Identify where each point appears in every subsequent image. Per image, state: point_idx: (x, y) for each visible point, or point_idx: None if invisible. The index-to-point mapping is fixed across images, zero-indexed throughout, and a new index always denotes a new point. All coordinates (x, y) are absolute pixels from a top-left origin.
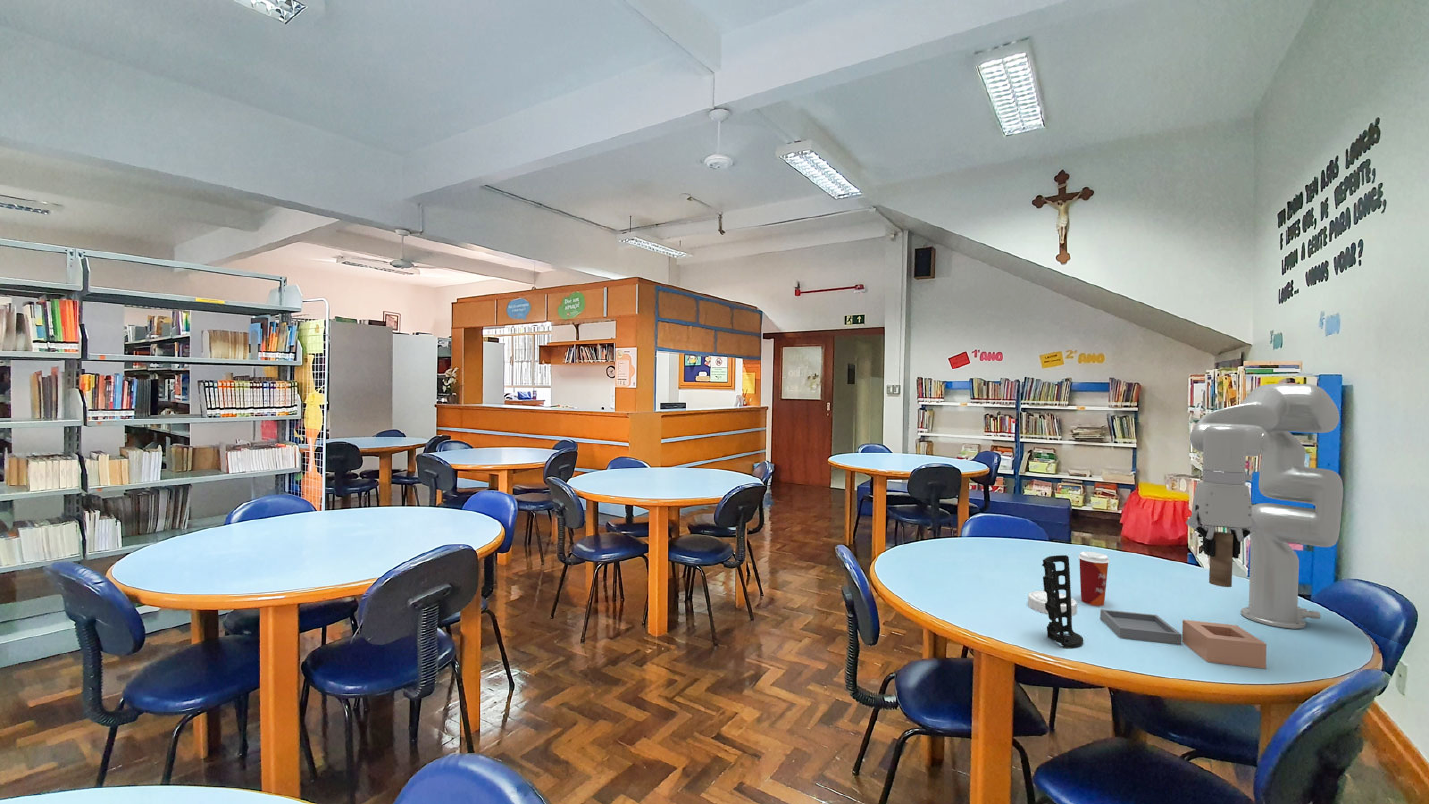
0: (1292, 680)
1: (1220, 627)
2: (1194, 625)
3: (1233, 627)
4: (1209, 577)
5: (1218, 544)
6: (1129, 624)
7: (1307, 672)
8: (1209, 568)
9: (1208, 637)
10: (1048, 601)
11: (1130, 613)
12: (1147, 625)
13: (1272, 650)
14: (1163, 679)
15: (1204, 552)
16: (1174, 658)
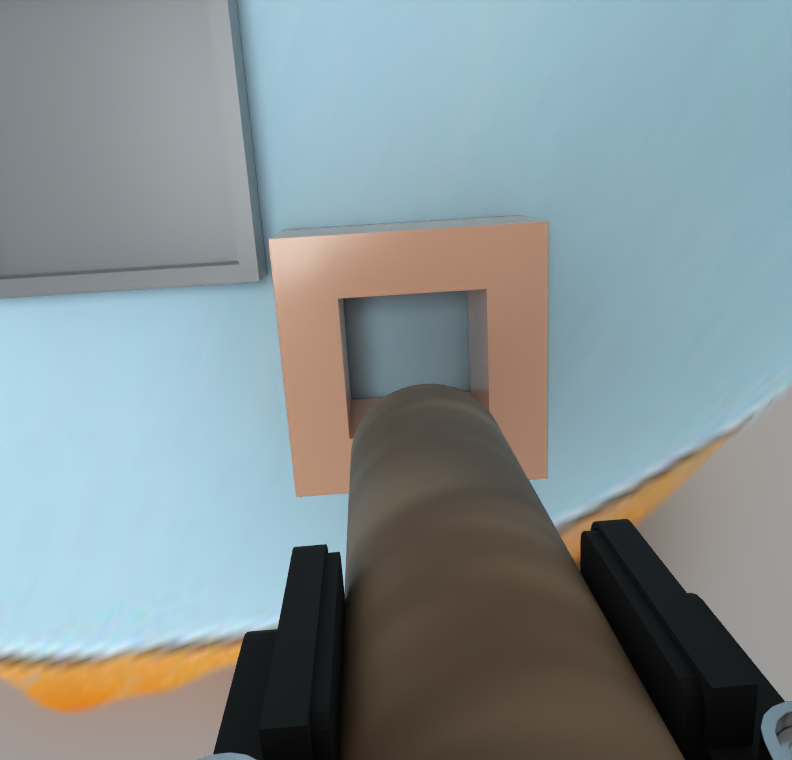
0: (560, 513)
1: (438, 290)
2: (300, 323)
3: (509, 272)
4: (351, 466)
5: None
6: (51, 108)
7: (673, 407)
8: (352, 493)
9: (302, 491)
10: None
11: None
12: (151, 83)
13: (683, 179)
14: (81, 678)
15: (296, 556)
16: (181, 461)
